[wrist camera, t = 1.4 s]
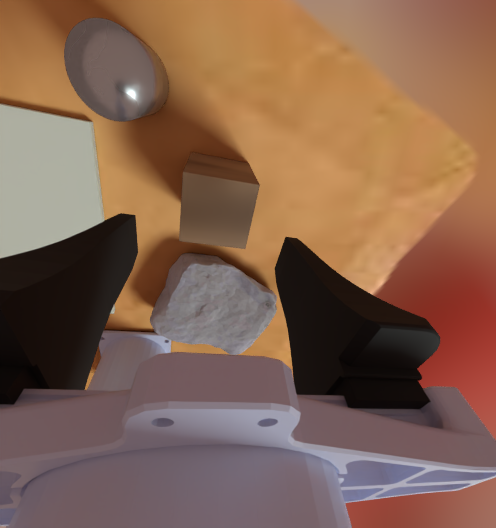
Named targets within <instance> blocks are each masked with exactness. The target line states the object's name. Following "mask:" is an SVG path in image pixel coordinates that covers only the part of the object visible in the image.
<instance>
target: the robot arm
mask: <svg viewBox="0 0 496 528" xmlns="http://www.w3.org/2000/svg"><path fill="white" fill-rule="evenodd" d="M137 254H138V246H137V232H136V218H135V215H129V214H122V213H121V214H118V215H116V216H114V217H111V218H109V219H107V220H105V221H103V222H101V223H99V224H97V225H95V226H93V227H91V228H89V229H87V230H85V231H83V232H80V233H78V234H76V235H73V236H71V237H69V238H67V239H64V240H61V241H59V242H56V243H53V244H50V245H47V246H44V247H41V248H38V249H34V250H31V251H27V252H23V253H19V254H15V255H12V256H8V257H4V258H0V526H6V528H352V526H351V523H350V519H349V516H348V512H347V508H346V505H345V503H348V502H356V501H364V500H371V499H379V498H386V497H395V496H402V495H411V494H421V493H431V492H443V491H457V490H461V489H463V488H466V487H469V486H472V485H475V484H478V483H480V482H483V481H486V480H489V479H492V478H494V477H496V440H495V439H494V438H493V436H492V435H491V434H490V432H489V431H488V430H487V428H486V427H485V425H484V424H483V423H482V421H481V420H480V419H479V417H478V416H477V415H476V413H475V412H474V410H473V409H472V408H471V406H470V405H469V404H468V402H467V401H466V400H465V398H464V397H463V396H462V394H461V393H460V392H459V390H458V389H457V388H455V387H436V386H435V387H434V386H432V387H427V388H424V389H423V388H422V387H421V385H420V384H419V382H418V380H421V379H422V376H421V374H420V373H419V371H418V370H417V368H418V367H419V366H420V365H422V364H423V363H424V362H425V361H426V360H427V359H428V358H429V357H430V356H431V355H433V353H434V352H435V351H436V350H437V348H438V346H439V344H440V336H439V335H438V333H437V332H436V331H435V329H434V328H433V327H432V326H431V325H430V323H429V322H428V321H427V320H426V319H425V318H422V317H420V316H417V315H415V314H412V313H410V312H407V311H405V310H402V309H400V308H398V307H395V306H393V305H391V304H389V303H387V302H385V301H382V300H381V299H379V298H377V297H375V296H373V295H371V294H370V293H368V292H366V291H364V290H363V289H361V288H359V287H358V286H356V285H354V284H353V283H351V282H350V281H348V280H347V279H345V278H344V277H343V276H341V275H340V274H338V273H337V272H336V271H335V270H333V269H332V268H331V267H330V266H328V265H327V264H326V263H325V262H324V261H322V260H321V259H320V258H319V257H318V256H317V255H316V254H315V253H313V252H312V251H311V250H310V249H309V248H308V247H307V246H306V245H305V244H303V243H302V242H301V241H300V240H298V239H297V238H290V237H285V240H284V243H283V246H282V249H281V252H280V255H279V258H278V261H277V264H276V266H275V275H276V284H277V288H278V292H279V296H280V300H281V303H282V307H283V311H284V315H285V318H286V323H287V327H288V334H289V341H290V349H291V357H292V366H293V376H292V372H291V369H290V368H289V367H288V366H287V365H285V364H284V363H283V362H282V361H280V360H278V359H273V358H269V357H264V356H246V355H226V354H206V353H186V352H173V353H171V340H168V339H167V338H165V337H163V336H161V335H158V334H157V333H150V332H129V331H108V330H104V328H105V326H106V323H107V320H108V317H109V315H110V313H111V310H112V308H113V306H114V304H115V302H116V300H117V298H118V296H119V294H120V292H121V291H122V289H123V287H124V285H125V283H126V281H127V279H128V277H129V275H130V273H131V271H132V269H133V266H134V263H135V260H136V257H137ZM98 345H99V349H100V354H101V359H100V362H99V364H98V366H97V368H96V371H95V373H94V375H93V378H92V380H91V382H90V384H89V387H88V389H87V390H84V389H85V386H86V383H87V379H88V376H89V373H90V370H91V366H92V363H93V360H94V357H95V354H96V351H97V348H98ZM293 377H294V381H293Z"/></svg>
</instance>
